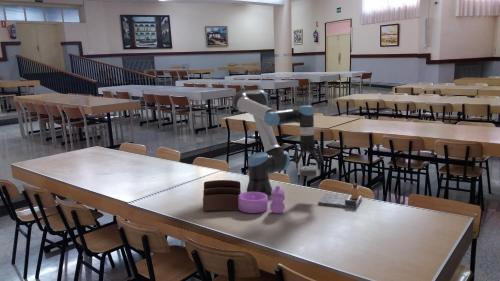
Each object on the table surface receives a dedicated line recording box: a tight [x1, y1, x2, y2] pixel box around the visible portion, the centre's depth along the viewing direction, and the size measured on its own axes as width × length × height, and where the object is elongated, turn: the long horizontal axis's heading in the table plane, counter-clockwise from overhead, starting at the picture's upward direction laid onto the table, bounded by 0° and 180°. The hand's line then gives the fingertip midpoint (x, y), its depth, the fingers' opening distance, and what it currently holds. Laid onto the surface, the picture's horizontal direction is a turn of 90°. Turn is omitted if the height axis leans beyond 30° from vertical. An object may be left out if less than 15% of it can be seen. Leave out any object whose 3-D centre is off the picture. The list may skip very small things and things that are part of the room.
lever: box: [350, 183, 360, 199], centre depth 218 cm, size 3×3×8 cm
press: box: [317, 193, 363, 210], centre depth 218 cm, size 20×15×4 cm
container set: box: [238, 185, 286, 214], centre depth 211 cm, size 25×15×13 cm, turn 67°
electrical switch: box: [300, 165, 317, 177], centre depth 226 cm, size 9×5×9 cm
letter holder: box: [202, 179, 242, 212], centre depth 216 cm, size 10×20×14 cm, turn 93°
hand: (308, 174), depth 222 cm, fingers closed on electrical switch, 10 cm apart
